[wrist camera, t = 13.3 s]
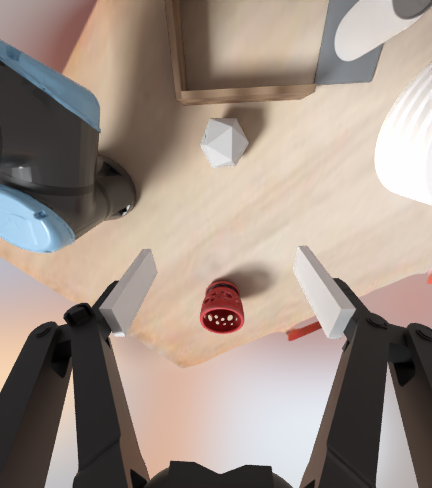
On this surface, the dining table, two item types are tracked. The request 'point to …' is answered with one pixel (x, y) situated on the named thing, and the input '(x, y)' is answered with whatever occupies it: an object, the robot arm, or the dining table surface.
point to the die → (223, 142)
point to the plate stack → (408, 141)
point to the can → (375, 24)
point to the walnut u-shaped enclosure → (218, 94)
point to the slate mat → (329, 62)
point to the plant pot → (222, 308)
